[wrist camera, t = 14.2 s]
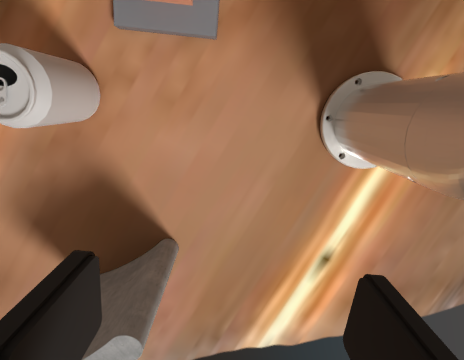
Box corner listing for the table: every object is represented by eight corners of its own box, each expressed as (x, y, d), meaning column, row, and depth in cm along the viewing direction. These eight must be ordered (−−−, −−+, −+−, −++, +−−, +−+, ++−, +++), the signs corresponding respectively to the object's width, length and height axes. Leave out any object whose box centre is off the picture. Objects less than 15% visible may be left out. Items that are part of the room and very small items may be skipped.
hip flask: (171, 235, 40) (117, 356, 21) (185, 255, 41) (146, 388, 22) (89, 279, 42) (-27, 425, 23) (105, 297, 43) (6, 451, 24)
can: (103, 65, 33) (36, 45, 22) (103, 124, 35) (42, 135, 24) (43, 56, 33) (-58, 31, 21) (47, 117, 35) (-43, 124, 23)
